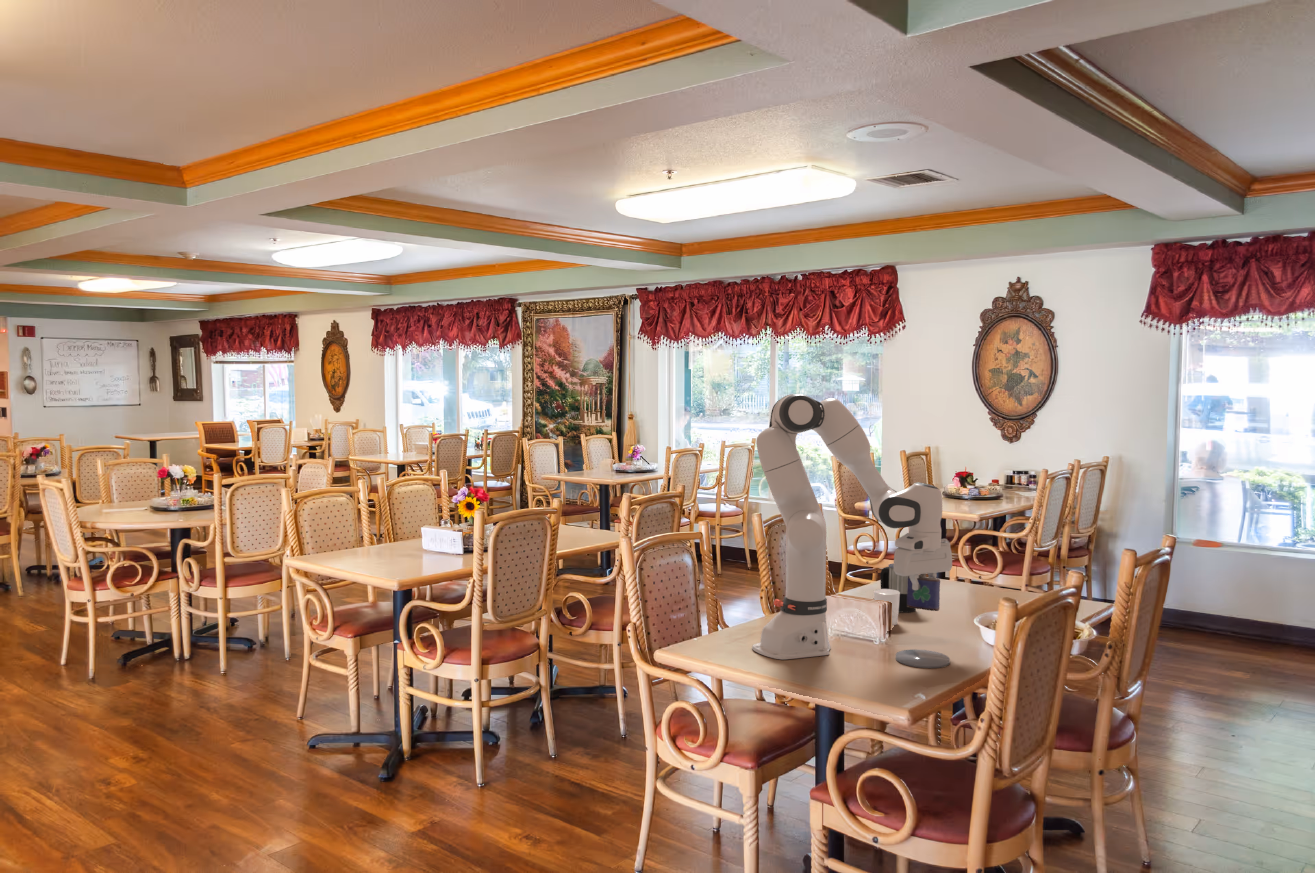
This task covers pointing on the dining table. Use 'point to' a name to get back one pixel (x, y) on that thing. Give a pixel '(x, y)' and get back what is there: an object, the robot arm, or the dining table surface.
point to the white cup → (891, 597)
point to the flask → (924, 594)
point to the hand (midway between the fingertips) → (922, 588)
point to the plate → (922, 658)
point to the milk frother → (896, 586)
